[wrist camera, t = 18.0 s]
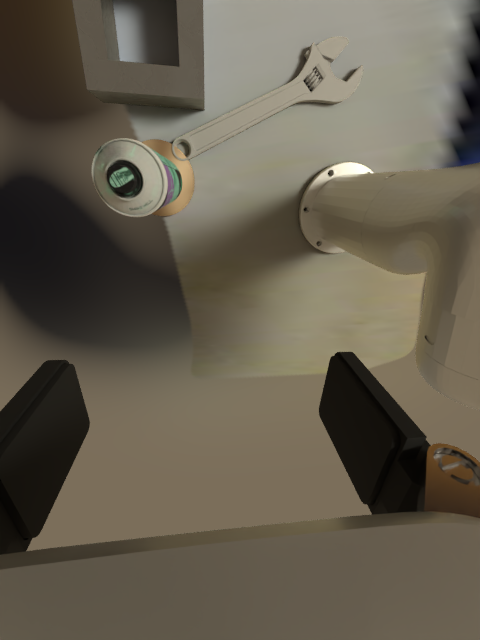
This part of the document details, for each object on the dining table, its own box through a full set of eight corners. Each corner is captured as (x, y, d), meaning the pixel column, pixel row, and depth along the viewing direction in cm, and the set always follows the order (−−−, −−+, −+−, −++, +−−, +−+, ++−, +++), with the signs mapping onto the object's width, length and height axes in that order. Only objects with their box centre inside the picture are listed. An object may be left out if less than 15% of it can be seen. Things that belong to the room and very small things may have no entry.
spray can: (133, 188, 36) (64, 193, 18) (151, 147, 34) (93, 109, 17) (171, 211, 38) (141, 236, 20) (190, 174, 36) (175, 165, 18)
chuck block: (202, -32, 29) (201, -71, 24) (204, 110, 34) (204, 99, 29) (80, -49, 27) (56, -94, 23) (103, 102, 32) (87, 89, 28)
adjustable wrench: (179, 166, 37) (177, 165, 35) (157, 110, 34) (154, 106, 32) (357, 95, 35) (364, 91, 34) (350, 31, 33) (357, 23, 31)
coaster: (193, 142, 35) (192, 141, 35) (195, 216, 39) (195, 217, 39) (120, 138, 34) (118, 137, 34) (130, 214, 38) (129, 215, 38)
